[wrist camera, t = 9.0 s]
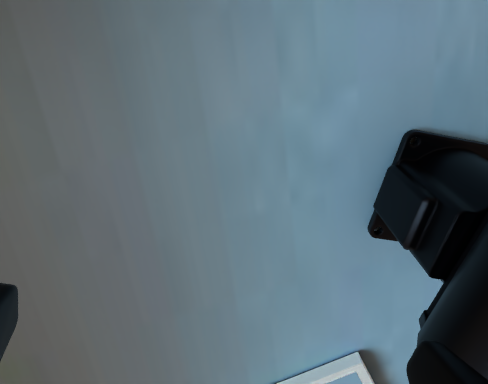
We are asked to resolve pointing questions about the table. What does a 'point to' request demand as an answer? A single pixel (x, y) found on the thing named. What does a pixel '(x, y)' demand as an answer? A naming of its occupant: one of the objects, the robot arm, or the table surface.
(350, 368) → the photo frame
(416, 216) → the robot arm
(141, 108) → the table surface
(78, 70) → the table surface
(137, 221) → the table surface
